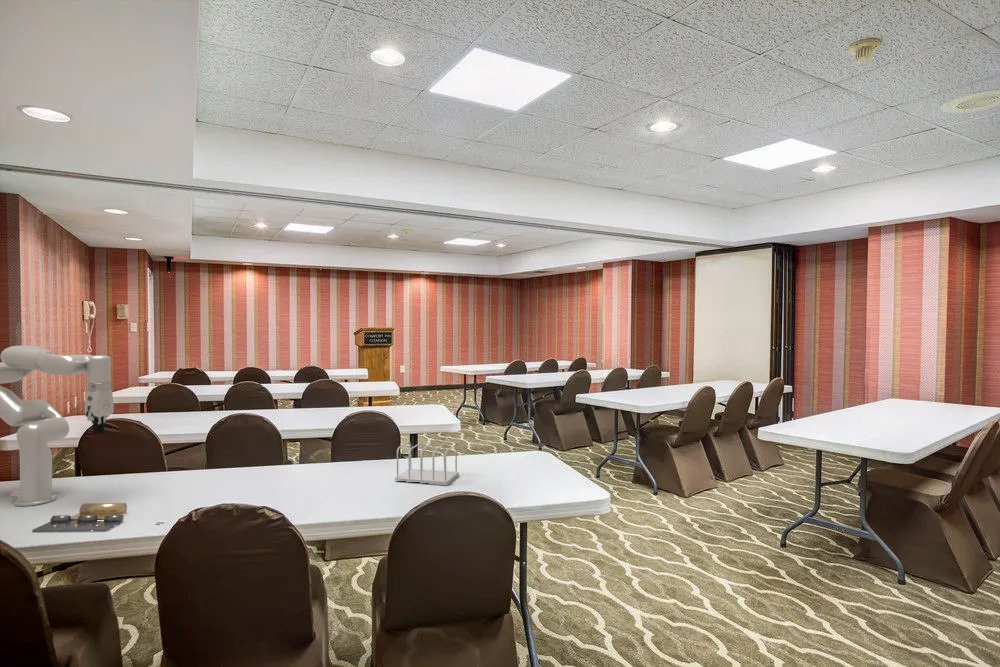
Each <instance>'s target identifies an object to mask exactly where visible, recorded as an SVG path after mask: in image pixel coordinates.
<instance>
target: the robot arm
mask: <svg viewBox="0 0 1000 667" xmlns="http://www.w3.org/2000/svg"><path fill="white" fill-rule="evenodd" d="M0 360H1V361H0V419H2V421H4V422H5V423H6V424H7V425H9V426H11V427H19V428H18V429H17V431H16V434H15V435H16V440H17V441H16V442H17V446H18V451H19V490H17V489H16V490H13V491H12V493H11V494H10V497H11V498H14V497H15V498H16V499H15V501H14V505H15V506H18V507H29V506H30V507H31V506H38V505H43V504H47V503H50V502H53V501H55V500H56V499H57V498H58V495H57V494H56V493H53V454H52V450H51V448H50V447H49V445H48V443H52V442H57V441H60V440H63V439H64V438H65V437H67V436H68V435H69V432H70V425H69V423H68V421H67V420H66V419H65V417H63V416H62V415H61V414H60V413H59V412H58V410H56V409H55V408H54V407H53V406H52V405H51V404H50V403H49V402H47V401H45V400H44V399H36V398H35V399H28V400H26V399H21V397H19V396H17V394H15V392H14V391H12V390H11V389H9V388H6V387H4V386H2V384H9V383H16V382H19V381H21V380H23V379H24V378H25V377H27V376H29V375H30V374H31V373H33V371H40V372H41V373H44V374H48V375H57V376H58V375H59V376H73V375H83V374H86V394H85V400H84V415H85V417H87V421H88V422H91V424H92V434H93V435H102V434H103V435H104V434H105V423H106V422H107V420H106V419H107V418H109V417H110V416H111V415H112V414H114V412H115V411H114V410H115V409H114V408H115V406H114V396H113V391H112V382H111V381H112V380H111V378H112V377H111V376H112V375H111V374H112V370H111V368H112V361H111V357H110V356H109V355H105V354H104V355H102V354H101V355H100V354H99V355H92V354H72V355H71V354H68V355H62V354H61V355H60V354H54V353H53V351H52V350H50V349H48V348H43V347H41V346H39V345H33V344H31V345H30V344H29V345H12V346H8V347H7V348H5V349H3V350H2V351H1V353H0Z"/></svg>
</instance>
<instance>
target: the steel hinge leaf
mask: <svg viewBox="0 0 1000 667" xmlns="http://www.w3.org/2000/svg"><path fill="white" fill-rule="evenodd" d="M71 517H72V516H71V515H70V514H69V515H68V514H66V515H62V514H61V515H57V514H56V515H52V516H51V517H50V521H48V522H46V523H44V524H42V525H40V526H37V527H35V528H33V529H32V530H31V531H32V533H55V532H54V531H91V530H93V531H107V530H108V529H110V528H112V527H114V526H115V525H117V524H119V523H121V522H122V523H123V521H124V516H123V515H106V516H105V518H104V521H97V516H96V515H80V516H79V517H78V519H77V521H70V520H71ZM122 523H121V524H122ZM119 525H120V524H119ZM117 526H118V525H117ZM114 528H115V527H114ZM112 529H113V528H112ZM110 530H111V529H110ZM108 531H109V530H108ZM108 531H107V532H108Z"/></svg>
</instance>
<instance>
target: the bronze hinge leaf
mask: <svg viewBox="0 0 1000 667" xmlns="http://www.w3.org/2000/svg"><path fill="white" fill-rule="evenodd" d="M127 511H128V505H127V503H126V502H84V503H82V504H81V505H80V508H79V511H78V513H76V514H74V515H72V516H71V520H70V521H77V519H78V517H79V516H80V515H96V516H97V520H104V518H105V516H106V515H124V514H126V515H127ZM124 516H125V515H124Z"/></svg>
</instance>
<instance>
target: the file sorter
mask: <svg viewBox="0 0 1000 667" xmlns="http://www.w3.org/2000/svg"><path fill="white" fill-rule="evenodd" d="M406 445H409V450H408V469H407V470H405V471H404V472H402V473H400V474H399V450H400V449H401V448H403V447H404V446H406ZM419 445H420V447H421V449H420V450H421V451H420V457H419V458H420V468H419V469H417V468H416V469H415V468H412V450H413V449H414V448H417V447H418V446H419ZM430 446H431V447H432V448H431V449H432V450H431V451H432V452H431V454H432V464H431V465H432V470H431V469H423V467H424V466H423V462H424V461H423V457H424V456H423V454H424V452H423V451H424V450H426V449H427V448H429V447H430ZM441 447H443V470H435V454H436V451H438V450H439V449H440V448H441ZM453 448H455V449H454V450H455V460H454V462H455V463H454V464H455V468H454V470H455V471H448V470H447V453H448V452H449V451H450V450H452V449H453ZM457 451H458V448H457V445H452V446H451V447H449V448H448V449H446V447H445V444H444V443H442V444H440V445H439V446H437V447H436V448H434V443H429V444H427V445H426V446H423V443H422V442H419V443H417V444H415V445H413V446H412V443H411V441H407V442H406V443H403V444H401V445H399V446H398V447H397V449H396V477H394V481H395V480H397V481H410V482H421V483H420V484H422V483H429V484H428V485H435V484H436V485H437V486H448V485H450V484H451V483H452V482H453V481H454V480H455V479H456V478H458V477H459V476H458V475H459V472H458V464H457V463H458V452H457Z"/></svg>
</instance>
